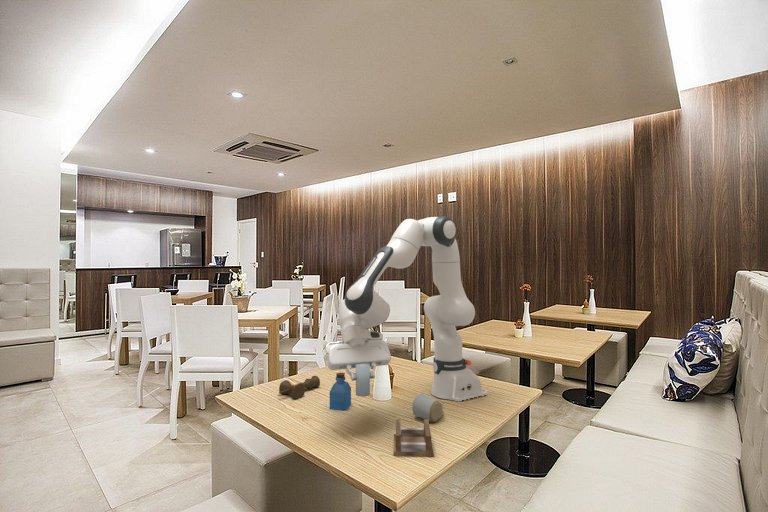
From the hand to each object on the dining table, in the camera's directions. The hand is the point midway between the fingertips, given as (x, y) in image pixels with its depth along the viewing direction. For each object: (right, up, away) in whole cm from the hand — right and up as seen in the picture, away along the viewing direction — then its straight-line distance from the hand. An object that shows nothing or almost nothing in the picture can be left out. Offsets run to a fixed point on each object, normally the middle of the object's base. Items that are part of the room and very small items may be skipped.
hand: (363, 378), depth 117 cm
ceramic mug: (+22, -18, +13) cm, 31 cm away
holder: (+15, -17, -7) cm, 24 cm away
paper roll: (0, -5, +1) cm, 5 cm away
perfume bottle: (-10, -18, +23) cm, 30 cm away
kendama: (-28, -18, +37) cm, 50 cm away
